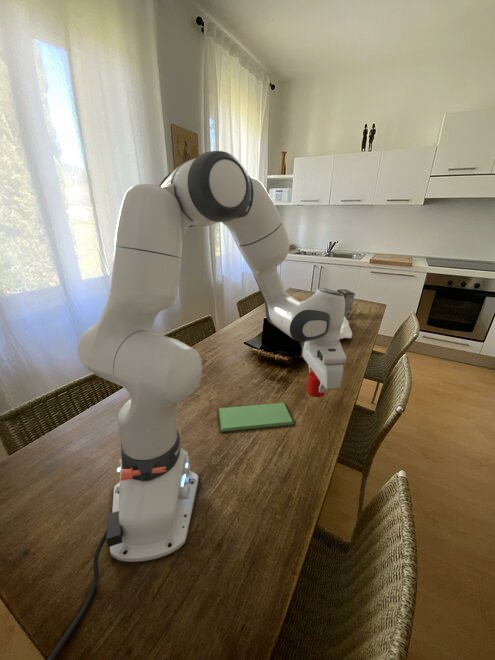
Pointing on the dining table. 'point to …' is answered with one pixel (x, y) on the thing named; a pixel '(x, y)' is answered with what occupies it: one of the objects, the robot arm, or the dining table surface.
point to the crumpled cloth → (345, 330)
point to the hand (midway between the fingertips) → (316, 384)
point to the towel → (254, 417)
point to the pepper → (313, 385)
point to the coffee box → (347, 301)
